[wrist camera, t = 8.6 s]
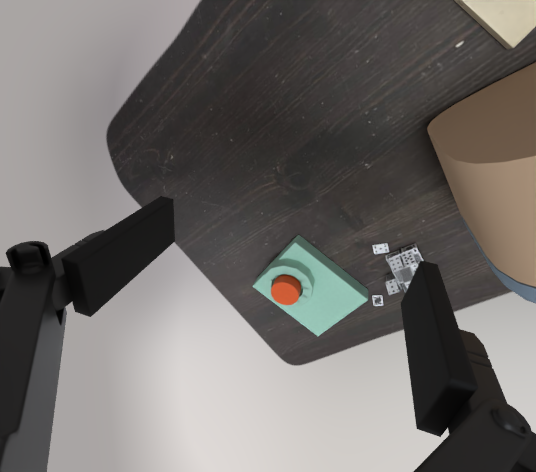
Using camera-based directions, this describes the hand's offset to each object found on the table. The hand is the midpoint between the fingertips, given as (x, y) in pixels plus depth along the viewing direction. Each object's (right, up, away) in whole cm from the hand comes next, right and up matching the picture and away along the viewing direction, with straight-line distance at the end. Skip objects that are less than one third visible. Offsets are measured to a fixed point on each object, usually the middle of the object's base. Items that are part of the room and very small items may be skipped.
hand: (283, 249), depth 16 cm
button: (+2, -6, +24) cm, 25 cm away
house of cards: (+15, -4, +23) cm, 28 cm away
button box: (+5, -6, +27) cm, 28 cm away
